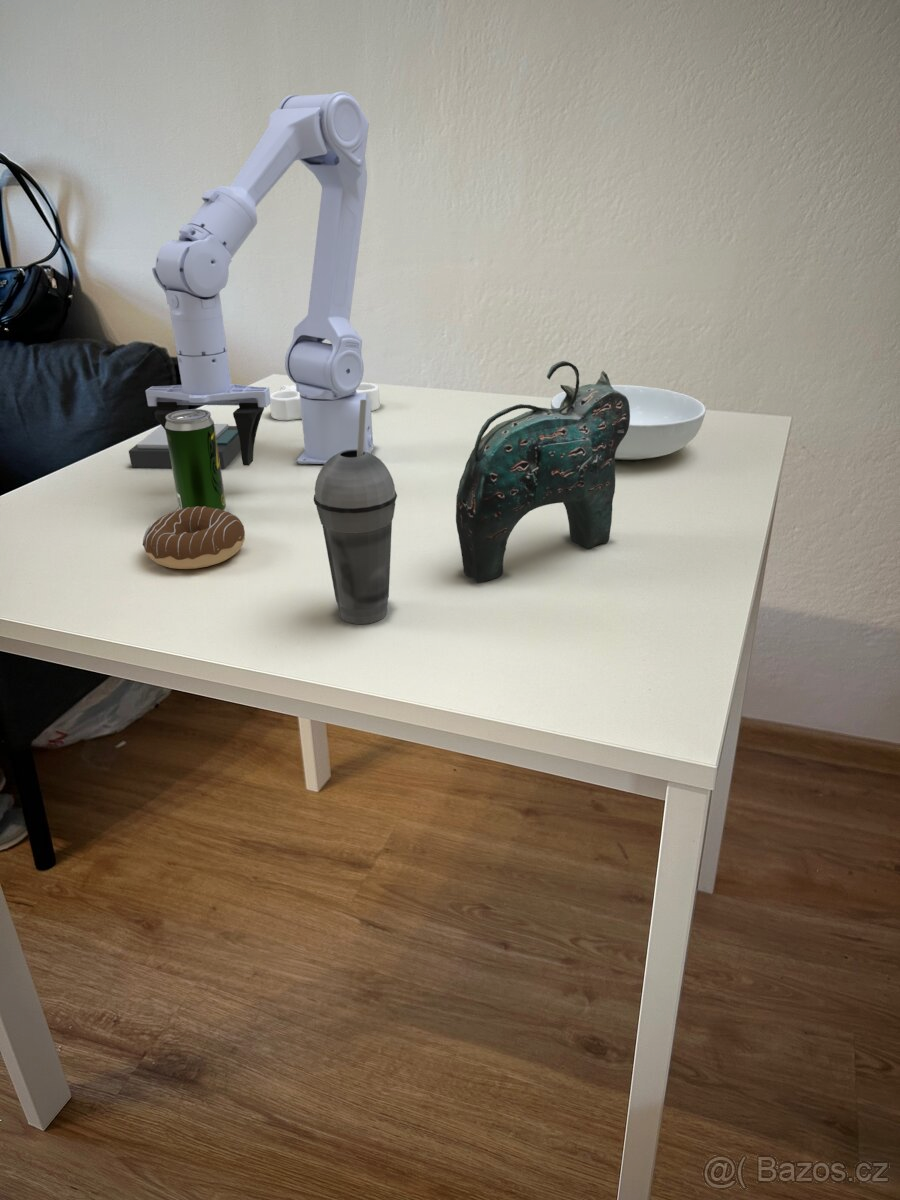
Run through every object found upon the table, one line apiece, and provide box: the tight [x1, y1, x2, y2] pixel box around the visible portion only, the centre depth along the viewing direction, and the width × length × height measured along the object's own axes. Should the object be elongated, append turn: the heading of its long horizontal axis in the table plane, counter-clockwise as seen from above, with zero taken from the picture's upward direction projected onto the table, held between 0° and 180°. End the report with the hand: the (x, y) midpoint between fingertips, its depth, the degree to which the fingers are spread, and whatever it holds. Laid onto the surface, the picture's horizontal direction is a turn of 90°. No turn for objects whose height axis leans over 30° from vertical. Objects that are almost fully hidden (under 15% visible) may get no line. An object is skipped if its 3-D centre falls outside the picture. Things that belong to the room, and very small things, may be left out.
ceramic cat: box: [455, 360, 630, 584], centre depth 86 cm, size 20×6×20 cm, turn 124°
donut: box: [142, 506, 246, 570], centre depth 92 cm, size 11×11×4 cm
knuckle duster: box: [269, 382, 381, 422], centre depth 142 cm, size 3×18×15 cm
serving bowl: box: [550, 384, 707, 461], centre depth 120 cm, size 21×21×7 cm
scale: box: [128, 423, 241, 470], centre depth 122 cm, size 13×12×3 cm
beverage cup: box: [313, 399, 398, 625], centre depth 76 cm, size 7×7×20 cm
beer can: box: [165, 408, 227, 511], centre depth 100 cm, size 5×5×12 cm
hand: (217, 462), depth 107 cm, fingers open, 7 cm apart
